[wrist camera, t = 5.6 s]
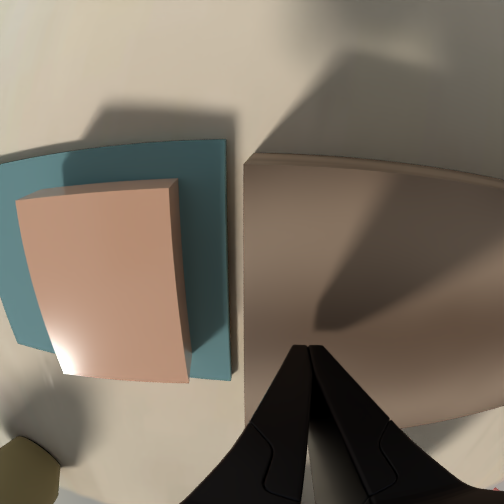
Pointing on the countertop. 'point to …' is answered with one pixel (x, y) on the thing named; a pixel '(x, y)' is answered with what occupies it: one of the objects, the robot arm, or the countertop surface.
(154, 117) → the countertop surface
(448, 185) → the platform
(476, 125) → the countertop surface
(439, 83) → the countertop surface
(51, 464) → the squeeze bottle
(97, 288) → the tile
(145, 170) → the mat
